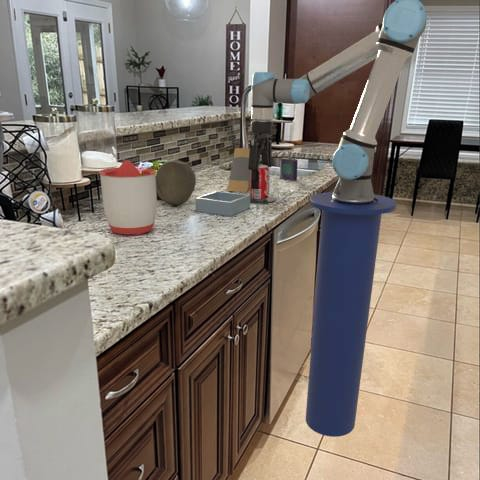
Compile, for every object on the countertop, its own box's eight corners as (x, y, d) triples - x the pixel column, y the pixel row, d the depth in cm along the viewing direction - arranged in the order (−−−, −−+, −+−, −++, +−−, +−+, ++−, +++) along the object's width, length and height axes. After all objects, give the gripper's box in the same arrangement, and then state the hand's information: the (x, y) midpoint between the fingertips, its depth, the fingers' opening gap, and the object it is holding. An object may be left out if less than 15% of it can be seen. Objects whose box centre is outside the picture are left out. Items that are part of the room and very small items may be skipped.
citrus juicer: (169, 224, 153) (166, 156, 145) (146, 239, 137) (142, 165, 129) (121, 220, 156) (116, 154, 148) (94, 235, 140) (86, 162, 133)
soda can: (266, 196, 189) (267, 164, 184) (270, 200, 183) (271, 167, 178) (248, 197, 188) (248, 164, 183) (251, 201, 182) (252, 167, 177)
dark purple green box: (278, 178, 229) (279, 154, 224) (282, 177, 231) (283, 153, 226) (294, 181, 223) (296, 156, 219) (298, 180, 225) (300, 155, 221)
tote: (249, 208, 174) (250, 195, 172) (230, 216, 163) (230, 202, 161) (216, 203, 180) (216, 190, 178) (195, 211, 169) (195, 197, 167)
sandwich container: (226, 191, 200) (226, 152, 194) (234, 184, 214) (234, 147, 208) (247, 192, 199) (247, 153, 193) (254, 185, 212) (255, 148, 206)
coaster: (279, 199, 188) (279, 198, 188) (266, 204, 179) (266, 203, 179) (253, 195, 192) (253, 194, 192) (239, 201, 184) (239, 200, 183)
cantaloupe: (196, 209, 171) (195, 164, 165) (154, 209, 170) (151, 164, 164) (196, 200, 184) (195, 158, 178) (157, 200, 183) (155, 158, 177)
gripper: (264, 118, 184) (262, 181, 193) (238, 121, 168) (237, 190, 177) (283, 119, 181) (280, 183, 190) (258, 122, 165) (256, 192, 174)
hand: (259, 186), depth 184 cm, fingers closed on soda can, 7 cm apart
